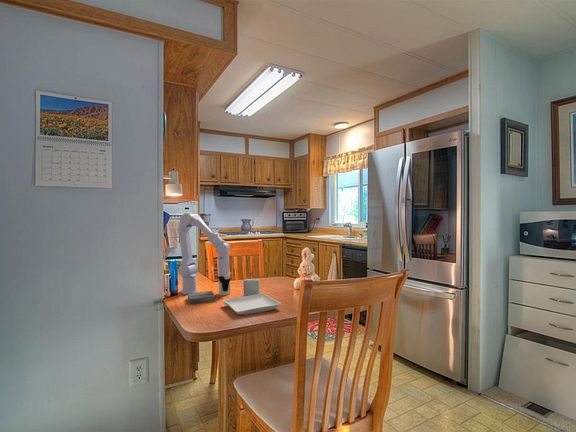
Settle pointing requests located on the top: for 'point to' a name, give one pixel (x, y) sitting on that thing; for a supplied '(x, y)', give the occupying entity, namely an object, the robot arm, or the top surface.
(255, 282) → the medicine box
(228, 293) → the cream block
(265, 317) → the top surface
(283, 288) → the top surface
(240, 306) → the salad plate
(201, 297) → the slate panel
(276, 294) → the top surface
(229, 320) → the top surface
